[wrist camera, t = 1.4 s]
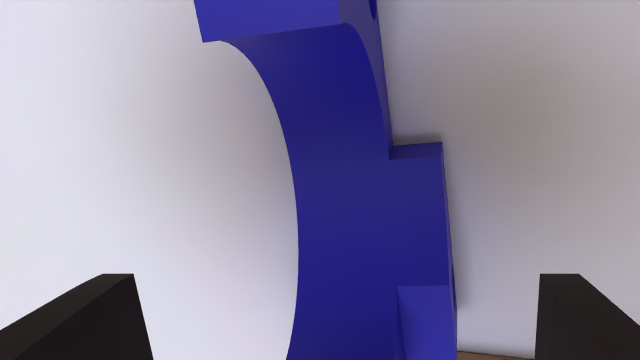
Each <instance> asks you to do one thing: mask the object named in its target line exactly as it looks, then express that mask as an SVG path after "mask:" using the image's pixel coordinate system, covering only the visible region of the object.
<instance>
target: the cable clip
mask: <svg viewBox="0 0 640 360" xmlns="http://www.w3.org/2000/svg"><path fill="white" fill-rule="evenodd" d="M194 4H195V9H196V14H197V18H198V23H199V28H200V32H201V37H202V41H203V43H204V42H211V41H223V42H227V43H229V44H231V45H233V46H234V47H236V48H237V49H239V50H240V51H241V52H242V53H243V54H244V55H245V56H246V57H247V58H248V59H249V60H250V61H251V63H252V64H253V65H254V67H255V68H256V70H257V71H258V73H259V74H260V76H261V78H262V80H263V81H264V83H265V85H266V87H267V89H268V91H269V94H270V96H271V98H272V101H273V103H274V106H275V109H276V111H277V114H278V117H279V120H280V123H281V127H282V130H283V134H284V137H285V141H286V145H287V150H288V154H289V159H290V164H291V170H292V176H293V183H294V190H295V198H296V208H297V221H298V248H299V259H298V286H297V299H296V308H295V316H294V323H293V329H292V335H291V340H290V345H289V349H288V354H287V358H286V360H457V305H456V293H455V282H454V271H453V259H452V248H451V237H450V225H449V214H448V202H447V191H446V180H445V168H444V157H443V145H442V142H435V143H423V144H411V145H399V146H393V139H392V130H391V122H390V113H389V104H388V96H387V87H386V79H385V70H384V61H383V53H382V44H381V36H380V27H379V19H378V10H377V1H376V0H194Z"/></svg>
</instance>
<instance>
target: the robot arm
mask: <svg viewBox="0 0 640 360" xmlns="http://www.w3.org/2000/svg"><path fill="white" fill-rule="evenodd" d="M0 360H153V355H152V351H151V347H150V343H149V338H148V334H147V330H146V325H145V321H144V317H143V313H142V308H141V304H140V300H139V296H138V291H137V287H136V283H135V278H134V274H101V275H99V276H97V277H94V278H92V279H90V280H88V281H86V282H84V283H82V284H80V285H79V286H77V287H75V288H73V289H71V290H69V291H68V292H66V293H64V294H62V295H61V296H59V297H57V298H55V299H54V300H52V301H50V302H48V303H47V304H45V305H43V306H41V307H40V308H38V309H36V310H35V311H33V312H31V313H29V314H28V315H26V316H24V317H22V318H21V319H19V320H17V321H15V322H14V323H12V324H10V325H9V326H7V327H5V328H3V329H2V330H0ZM535 360H640V326H639V325H638V324H637V323H636V322H635V321H633V320H632V319H631V318H630V317H629V316H628V315H626V314H625V313H624V312H623V311H622V310H621V309H619V308H618V307H617V306H616V305H615V304H614V303H612V302H611V301H610V300H609V299H608V298H607V297H606V296H604V295H603V294H602V293H601V292H600V291H599V290H597V289H596V288H595V287H594V286H593V285H592V284H591V283H589V282H588V281H587V280H586V279H585V278H583V277H582V276H581V275H580V274H540V282H539V298H538V314H537V330H536V346H535Z"/></svg>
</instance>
